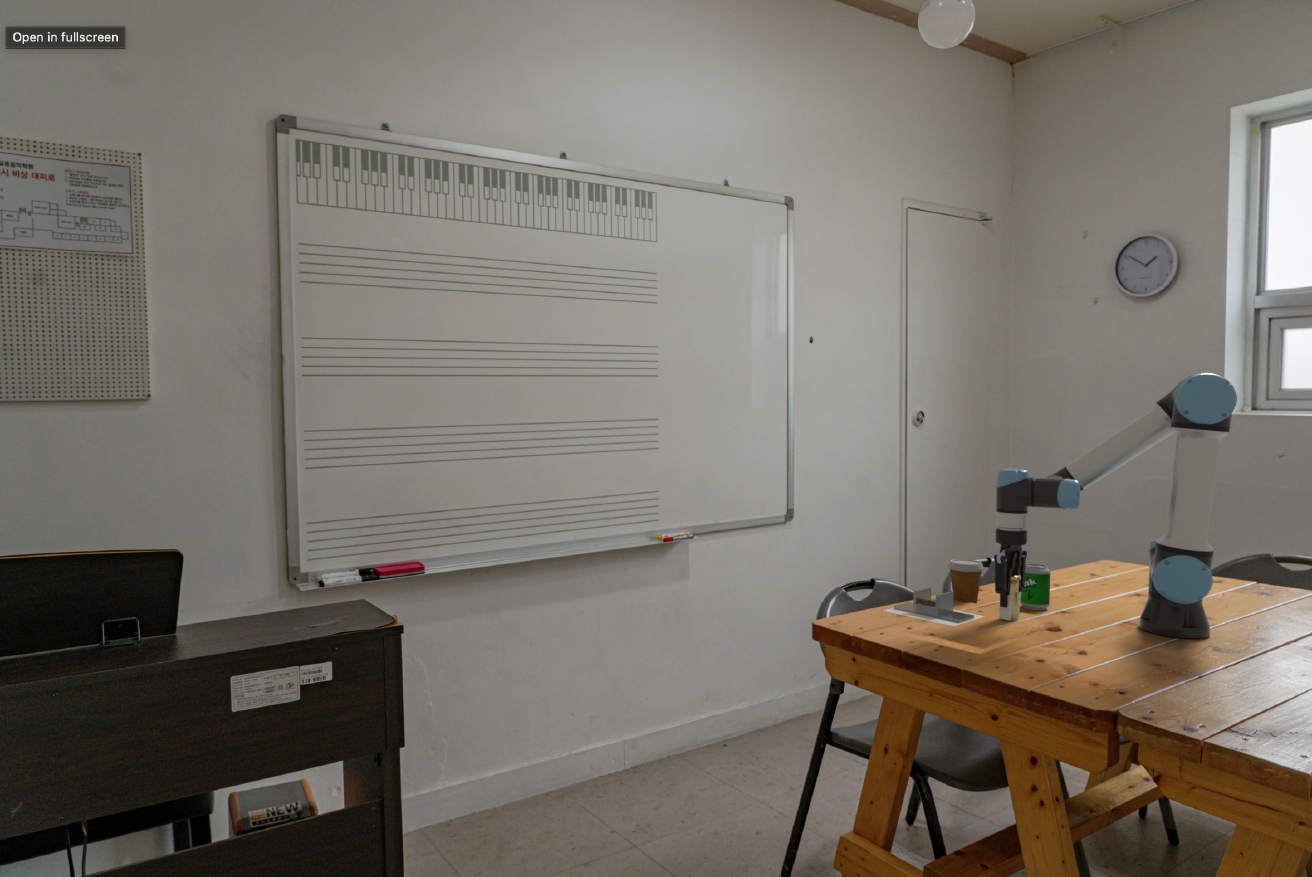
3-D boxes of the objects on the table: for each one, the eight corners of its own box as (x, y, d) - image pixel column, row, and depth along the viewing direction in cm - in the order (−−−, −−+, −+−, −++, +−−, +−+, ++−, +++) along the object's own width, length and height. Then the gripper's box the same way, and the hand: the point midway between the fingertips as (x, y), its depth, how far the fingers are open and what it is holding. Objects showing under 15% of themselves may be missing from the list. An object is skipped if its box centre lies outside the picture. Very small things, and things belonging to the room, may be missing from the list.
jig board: (985, 620, 218) (985, 616, 218) (953, 631, 208) (953, 626, 208) (914, 606, 234) (914, 601, 234) (881, 615, 224) (882, 610, 224)
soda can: (1043, 605, 236) (1044, 563, 236) (1053, 611, 229) (1054, 568, 229) (1016, 604, 237) (1017, 562, 237) (1025, 610, 230) (1026, 567, 229)
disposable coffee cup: (987, 607, 234) (988, 565, 233) (954, 606, 234) (954, 564, 233) (975, 599, 243) (976, 558, 243) (943, 599, 243) (943, 558, 243)
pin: (1023, 624, 215) (1024, 575, 215) (1014, 627, 212) (1015, 578, 211) (1004, 620, 219) (1005, 572, 218) (995, 623, 216) (996, 574, 215)
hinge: (974, 618, 216) (974, 595, 216) (959, 623, 211) (960, 599, 211) (908, 604, 231) (909, 583, 230) (893, 608, 226) (894, 586, 226)
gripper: (1012, 524, 223) (1011, 610, 224) (981, 529, 212) (979, 620, 213) (1040, 527, 217) (1038, 615, 218) (1009, 533, 206) (1007, 626, 207)
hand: (1009, 617), depth 215 cm, fingers closed on pin, 4 cm apart
